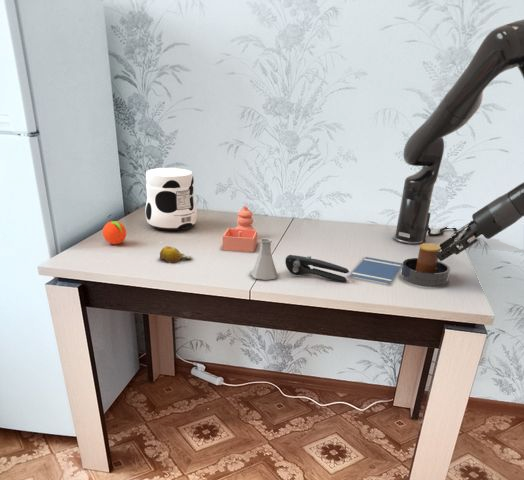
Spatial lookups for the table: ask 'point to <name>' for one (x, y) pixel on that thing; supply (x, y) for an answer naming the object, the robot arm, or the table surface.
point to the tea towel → (376, 270)
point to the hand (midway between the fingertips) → (439, 253)
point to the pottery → (241, 233)
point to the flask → (264, 262)
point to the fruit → (171, 254)
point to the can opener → (300, 267)
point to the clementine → (114, 232)
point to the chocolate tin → (427, 258)
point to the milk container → (170, 198)
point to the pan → (424, 274)
